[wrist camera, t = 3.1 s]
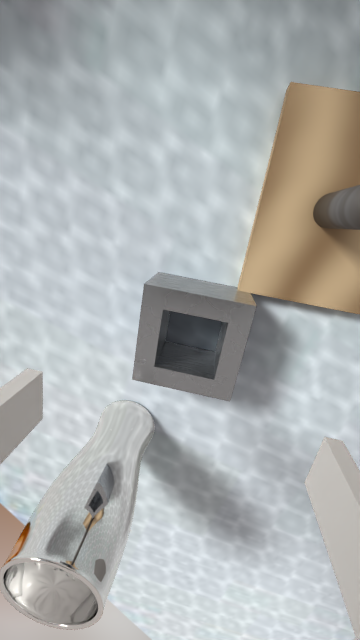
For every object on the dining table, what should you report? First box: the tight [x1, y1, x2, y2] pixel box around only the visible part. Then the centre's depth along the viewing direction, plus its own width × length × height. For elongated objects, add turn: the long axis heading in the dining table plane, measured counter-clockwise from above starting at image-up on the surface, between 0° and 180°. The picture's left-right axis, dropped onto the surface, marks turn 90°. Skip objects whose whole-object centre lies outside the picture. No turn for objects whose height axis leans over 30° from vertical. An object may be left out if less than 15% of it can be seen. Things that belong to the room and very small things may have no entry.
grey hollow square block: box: [132, 272, 257, 401], centre depth 23 cm, size 8×8×5 cm
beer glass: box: [0, 400, 155, 630], centre depth 23 cm, size 7×7×15 cm
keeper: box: [238, 82, 360, 314], centre depth 18 cm, size 10×14×7 cm
